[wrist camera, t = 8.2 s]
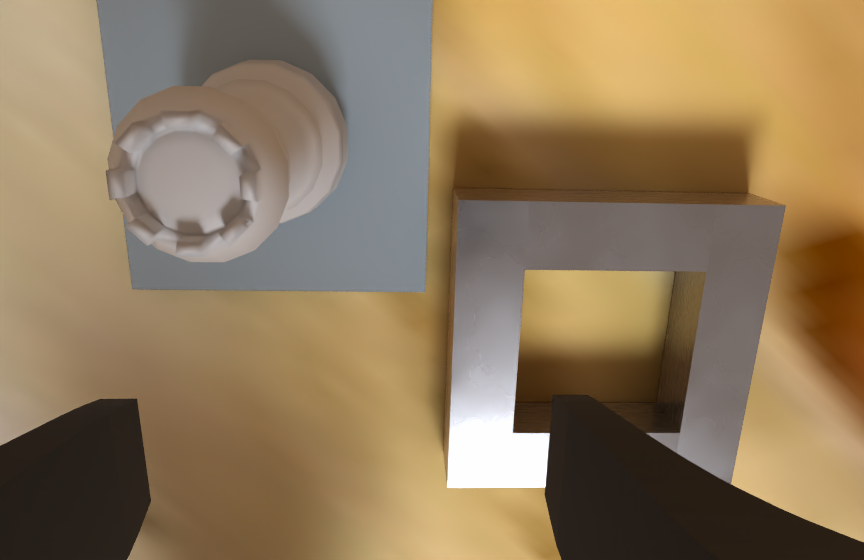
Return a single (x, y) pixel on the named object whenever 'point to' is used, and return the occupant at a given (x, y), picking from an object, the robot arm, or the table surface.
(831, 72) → the table surface
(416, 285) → the mat
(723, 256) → the square collar
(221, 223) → the rook chess piece
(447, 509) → the table surface
